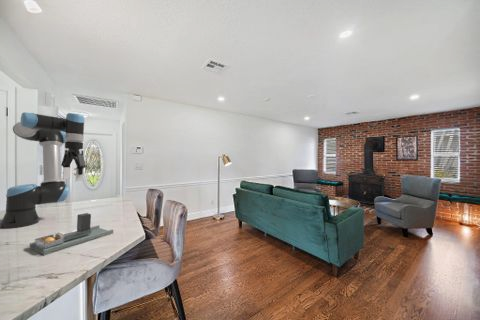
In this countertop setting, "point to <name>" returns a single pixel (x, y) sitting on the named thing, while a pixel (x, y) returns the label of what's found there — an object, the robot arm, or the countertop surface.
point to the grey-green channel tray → (75, 240)
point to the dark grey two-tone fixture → (82, 228)
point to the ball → (49, 239)
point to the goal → (47, 243)
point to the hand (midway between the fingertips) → (72, 179)
